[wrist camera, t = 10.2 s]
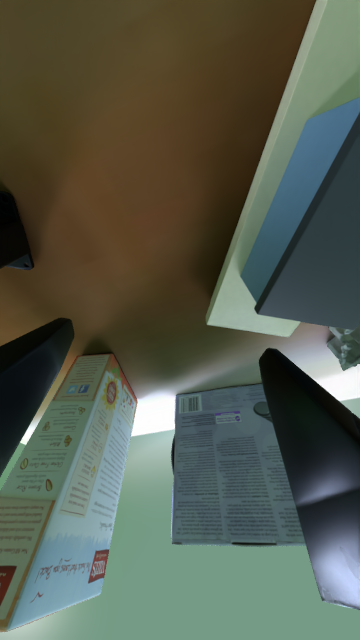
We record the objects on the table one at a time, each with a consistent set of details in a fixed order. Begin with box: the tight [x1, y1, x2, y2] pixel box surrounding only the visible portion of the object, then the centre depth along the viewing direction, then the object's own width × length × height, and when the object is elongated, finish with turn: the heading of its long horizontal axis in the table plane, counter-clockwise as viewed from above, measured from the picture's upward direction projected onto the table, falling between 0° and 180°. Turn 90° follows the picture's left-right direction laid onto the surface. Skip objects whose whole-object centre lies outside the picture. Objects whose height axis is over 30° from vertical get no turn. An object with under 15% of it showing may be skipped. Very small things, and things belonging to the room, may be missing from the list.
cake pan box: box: [171, 384, 306, 547], centre depth 27 cm, size 19×5×18 cm, turn 105°
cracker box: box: [0, 354, 137, 632], centre depth 23 cm, size 14×6×21 cm, turn 6°
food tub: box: [240, 97, 360, 330], centre depth 11 cm, size 7×9×5 cm
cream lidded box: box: [205, 0, 360, 337], centre depth 14 cm, size 9×20×4 cm, turn 169°
